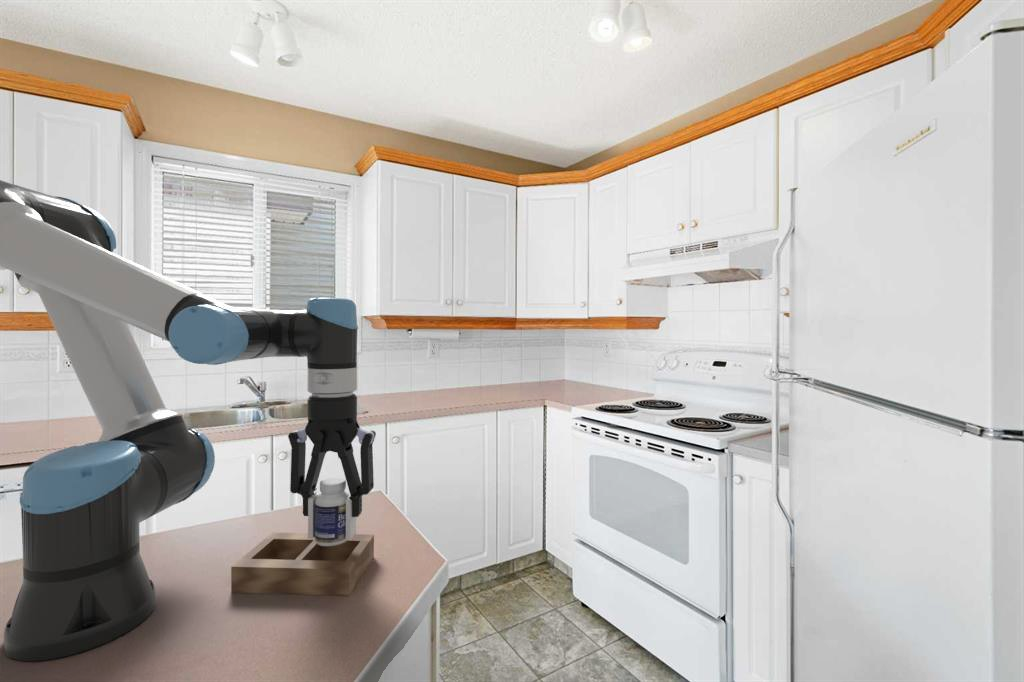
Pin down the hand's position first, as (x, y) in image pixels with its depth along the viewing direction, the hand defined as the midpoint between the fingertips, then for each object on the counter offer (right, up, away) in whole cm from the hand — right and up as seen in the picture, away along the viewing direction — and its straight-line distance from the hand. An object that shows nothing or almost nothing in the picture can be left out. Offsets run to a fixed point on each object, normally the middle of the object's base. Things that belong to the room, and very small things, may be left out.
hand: (332, 535), depth 78 cm
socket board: (-4, -6, 0) cm, 8 cm away
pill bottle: (0, -1, 0) cm, 1 cm away
